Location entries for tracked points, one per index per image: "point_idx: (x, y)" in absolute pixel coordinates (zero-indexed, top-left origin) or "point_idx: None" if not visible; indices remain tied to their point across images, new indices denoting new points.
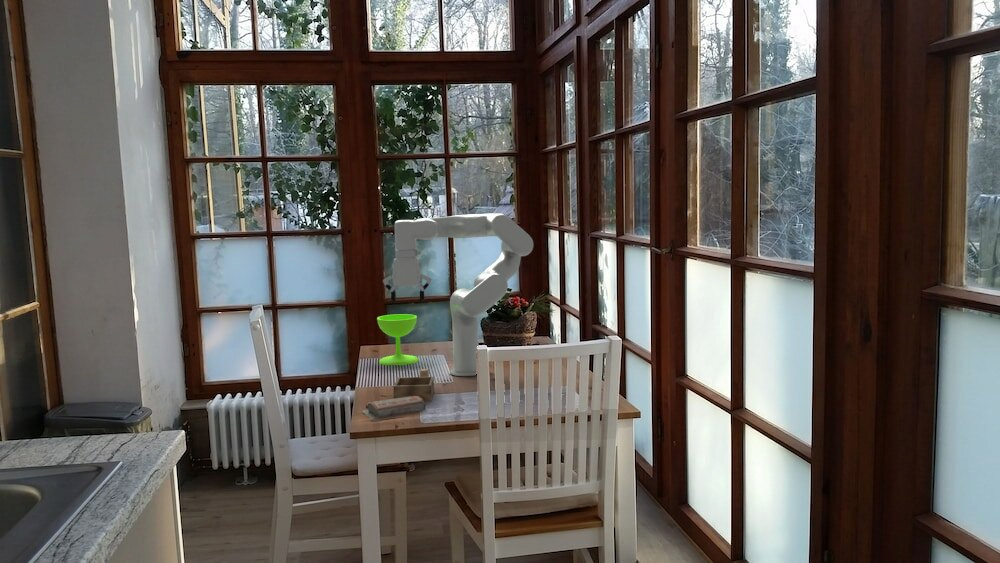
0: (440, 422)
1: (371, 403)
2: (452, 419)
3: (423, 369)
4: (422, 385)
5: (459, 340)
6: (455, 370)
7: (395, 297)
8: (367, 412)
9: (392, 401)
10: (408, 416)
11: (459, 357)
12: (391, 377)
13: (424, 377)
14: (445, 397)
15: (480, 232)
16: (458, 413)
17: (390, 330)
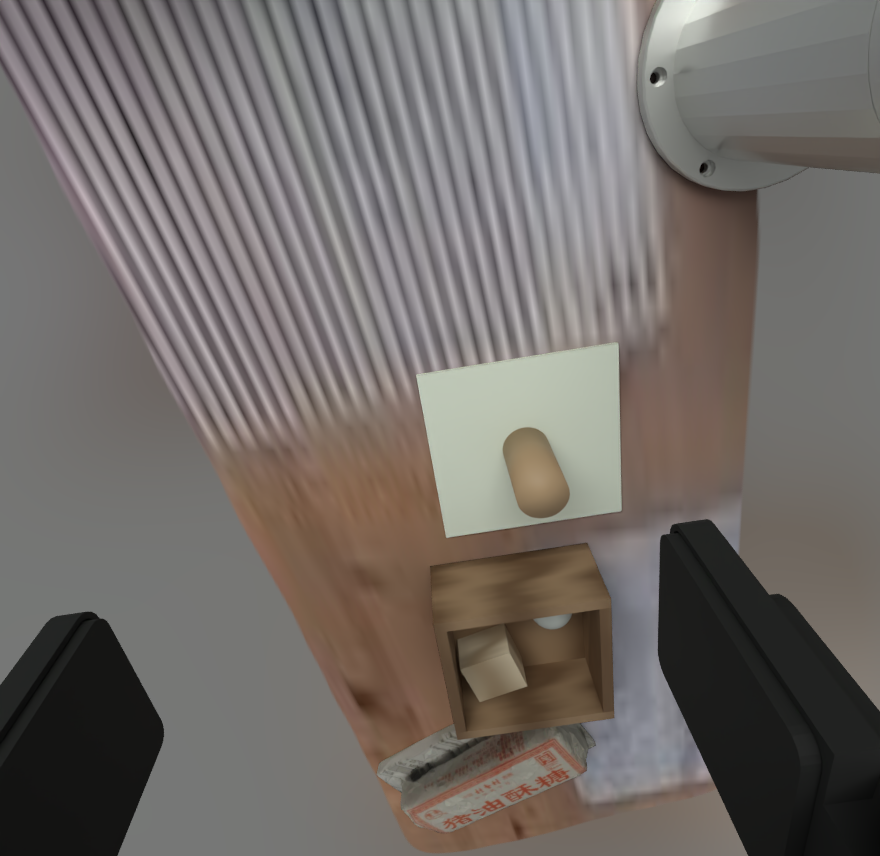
0: (639, 797)
1: (420, 826)
2: (673, 775)
3: (536, 481)
4: (577, 722)
5: (874, 169)
6: (690, 128)
7: (80, 756)
8: (400, 785)
9: (484, 802)
10: None
11: (773, 159)
12: (263, 224)
13: (566, 613)
14: (639, 581)
15: None
16: None
17: None
